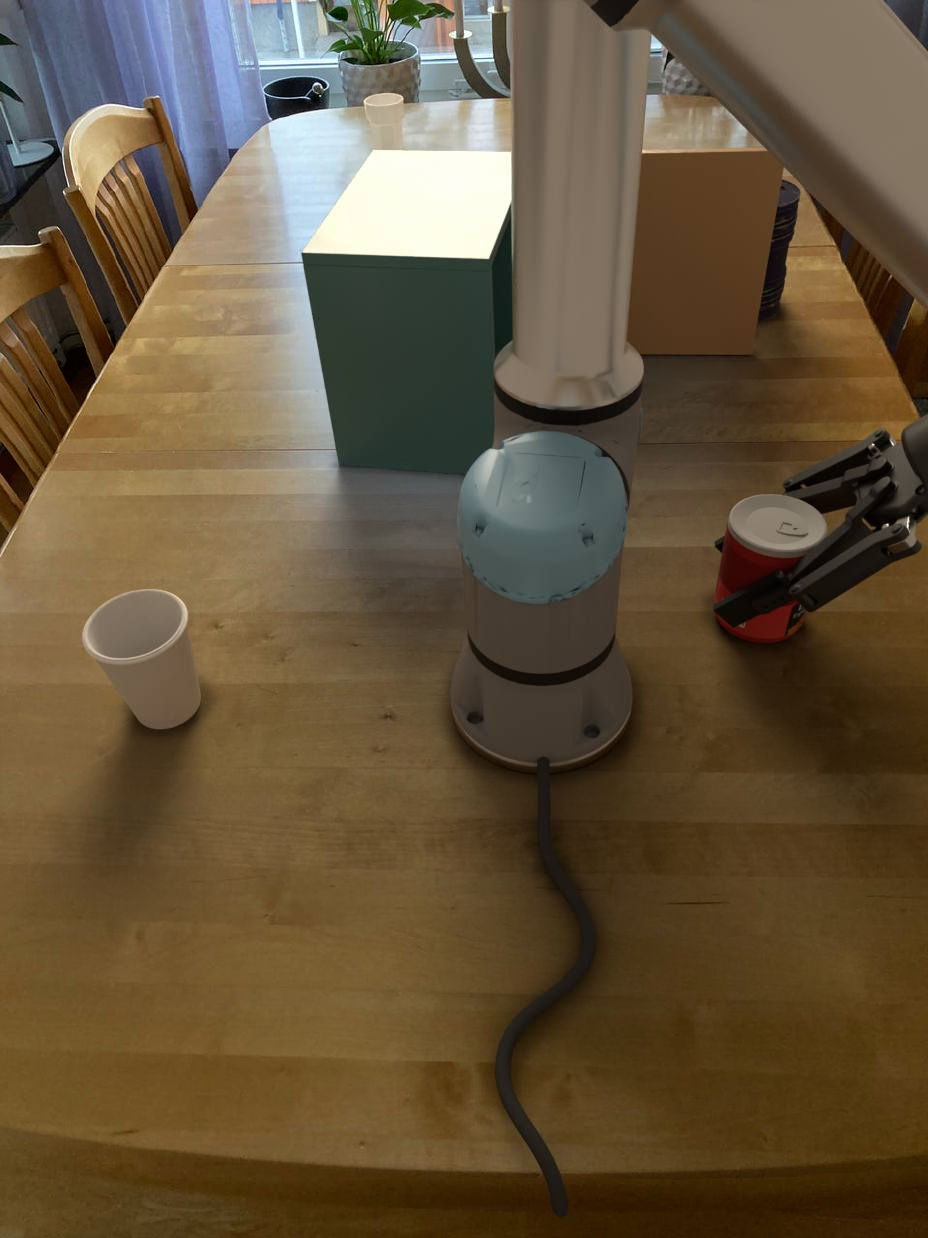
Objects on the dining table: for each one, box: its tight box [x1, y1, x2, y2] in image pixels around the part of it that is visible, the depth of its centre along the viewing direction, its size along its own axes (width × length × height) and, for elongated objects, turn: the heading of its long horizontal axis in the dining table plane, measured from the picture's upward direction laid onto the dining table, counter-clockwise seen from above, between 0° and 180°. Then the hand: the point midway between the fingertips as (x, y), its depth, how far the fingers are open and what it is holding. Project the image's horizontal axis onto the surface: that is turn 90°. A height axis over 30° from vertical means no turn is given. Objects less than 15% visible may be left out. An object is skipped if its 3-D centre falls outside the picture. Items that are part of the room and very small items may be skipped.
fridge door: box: [627, 147, 785, 356], centre depth 115 cm, size 7×26×24 cm, turn 84°
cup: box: [363, 92, 405, 150], centre depth 167 cm, size 7×7×11 cm
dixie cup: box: [81, 588, 202, 730], centre depth 81 cm, size 8×8×10 cm
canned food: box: [713, 493, 828, 644], centre depth 84 cm, size 8×8×11 cm
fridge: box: [300, 149, 513, 475], centre depth 107 cm, size 18×26×24 cm
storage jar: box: [757, 178, 802, 323], centre depth 123 cm, size 10×10×15 cm
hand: (723, 583), depth 86 cm, fingers closed on canned food, 8 cm apart
